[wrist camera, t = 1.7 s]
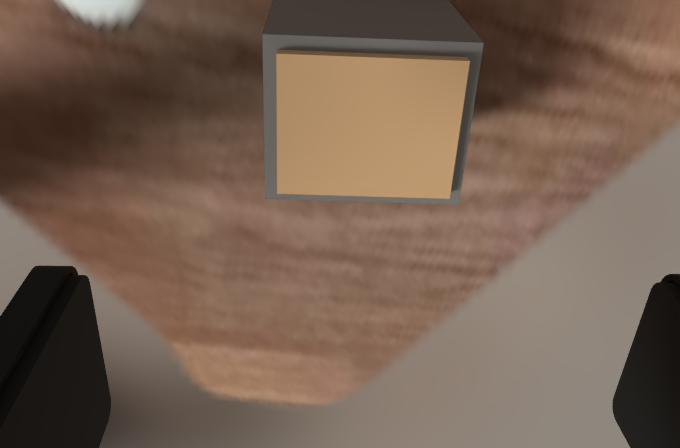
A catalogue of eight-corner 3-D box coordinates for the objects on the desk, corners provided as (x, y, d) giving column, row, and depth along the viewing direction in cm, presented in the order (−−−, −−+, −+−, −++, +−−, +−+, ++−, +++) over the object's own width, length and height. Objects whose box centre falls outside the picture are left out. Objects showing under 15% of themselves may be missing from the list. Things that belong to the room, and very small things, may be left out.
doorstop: (447, -2, 23) (487, 46, 17) (430, 131, 25) (460, 210, 20) (276, -9, 22) (260, 37, 17) (277, 126, 25) (264, 205, 19)
